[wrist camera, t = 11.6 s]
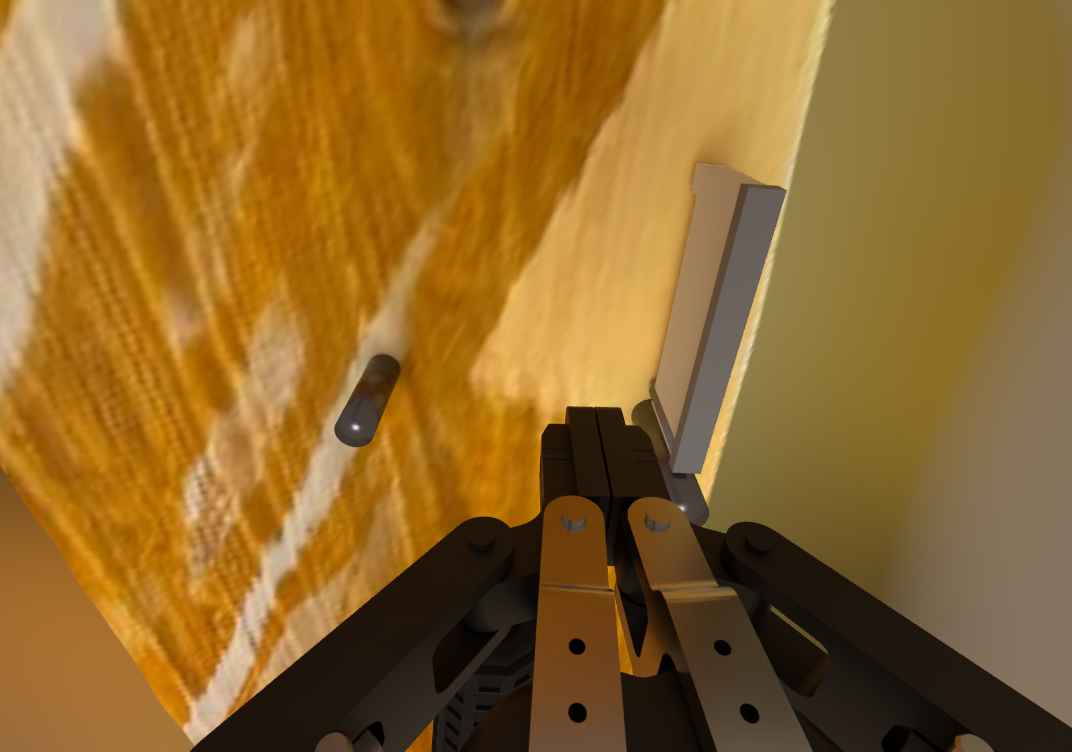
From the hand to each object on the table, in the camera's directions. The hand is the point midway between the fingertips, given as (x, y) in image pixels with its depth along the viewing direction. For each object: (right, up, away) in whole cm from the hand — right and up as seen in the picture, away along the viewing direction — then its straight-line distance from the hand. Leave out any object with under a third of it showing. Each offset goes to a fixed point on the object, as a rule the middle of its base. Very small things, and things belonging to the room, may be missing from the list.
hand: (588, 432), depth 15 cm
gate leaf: (+9, +7, +21) cm, 24 cm away
